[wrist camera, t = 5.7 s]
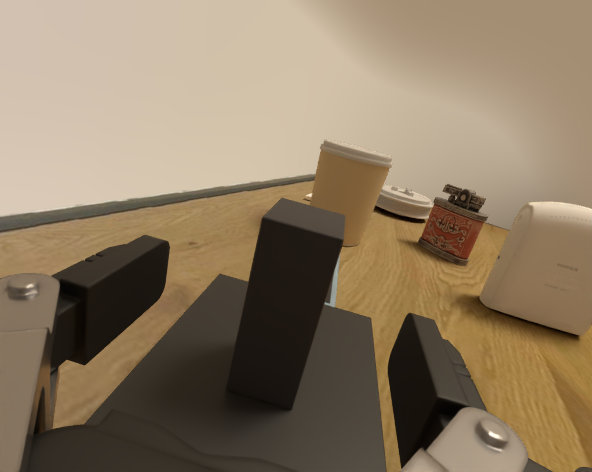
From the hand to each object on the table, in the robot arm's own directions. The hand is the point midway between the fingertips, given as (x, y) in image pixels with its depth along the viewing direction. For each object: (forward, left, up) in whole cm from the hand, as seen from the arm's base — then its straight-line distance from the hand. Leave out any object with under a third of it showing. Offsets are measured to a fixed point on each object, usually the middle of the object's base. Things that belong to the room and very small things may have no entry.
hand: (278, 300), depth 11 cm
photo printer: (+36, -2, -9) cm, 37 cm away
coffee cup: (+29, +21, -9) cm, 37 cm away
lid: (+58, +29, -9) cm, 65 cm away
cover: (+3, +2, -9) cm, 9 cm away
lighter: (+44, +12, -9) cm, 46 cm away
